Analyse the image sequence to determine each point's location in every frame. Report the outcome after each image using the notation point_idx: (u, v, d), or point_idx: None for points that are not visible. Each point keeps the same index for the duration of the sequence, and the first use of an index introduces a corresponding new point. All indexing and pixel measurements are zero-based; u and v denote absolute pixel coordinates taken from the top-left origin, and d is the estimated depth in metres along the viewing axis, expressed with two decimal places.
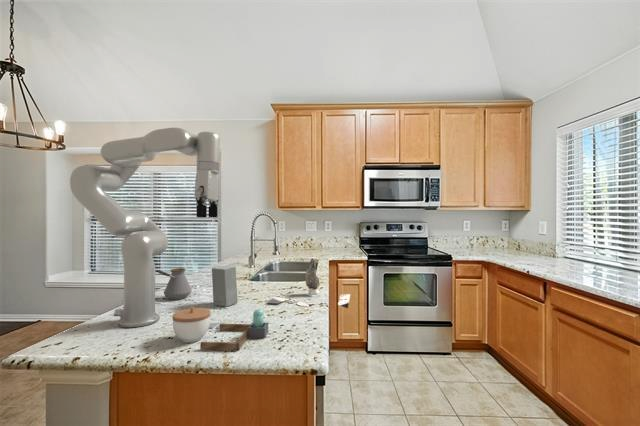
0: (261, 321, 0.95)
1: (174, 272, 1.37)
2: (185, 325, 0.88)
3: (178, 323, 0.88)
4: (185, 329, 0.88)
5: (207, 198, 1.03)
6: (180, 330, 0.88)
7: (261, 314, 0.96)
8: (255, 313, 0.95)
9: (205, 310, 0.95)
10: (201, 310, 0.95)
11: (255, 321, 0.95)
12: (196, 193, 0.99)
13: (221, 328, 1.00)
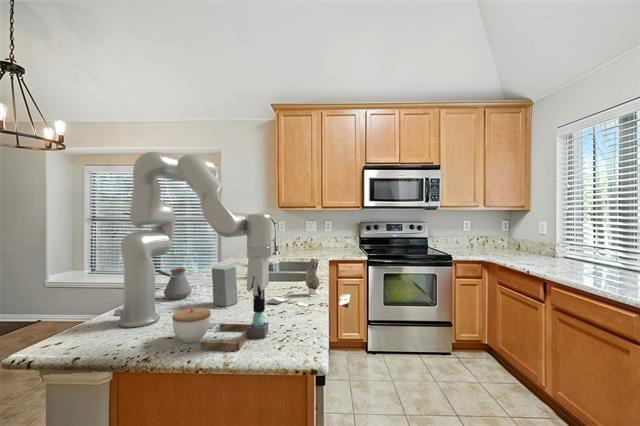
0: (261, 323, 0.95)
1: (174, 272, 1.37)
2: (185, 325, 0.88)
3: (178, 323, 0.88)
4: (185, 329, 0.88)
5: (261, 290, 0.92)
6: (180, 330, 0.88)
7: (261, 316, 0.96)
8: (255, 315, 0.95)
9: (205, 310, 0.96)
10: (201, 310, 0.95)
11: (255, 323, 0.95)
12: (254, 295, 0.92)
13: (221, 328, 1.00)
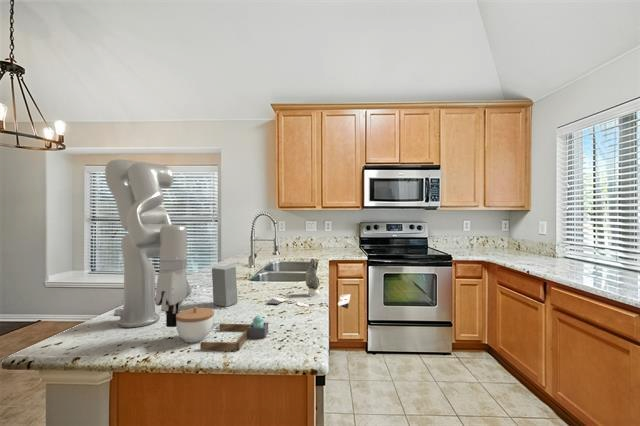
0: None
1: None
2: (188, 325, 0.88)
3: (181, 323, 0.88)
4: (188, 329, 0.88)
5: (170, 305, 0.89)
6: (183, 330, 0.88)
7: (261, 320, 0.96)
8: (255, 319, 0.95)
9: (208, 310, 0.95)
10: (204, 310, 0.95)
11: None
12: (163, 310, 0.89)
13: (221, 328, 1.00)
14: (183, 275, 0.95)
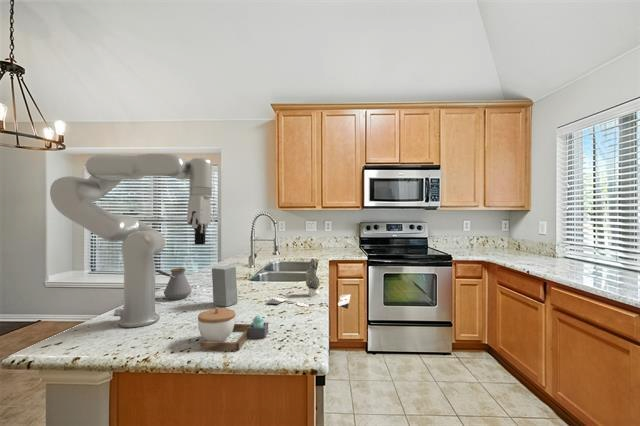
0: None
1: (174, 272, 1.37)
2: (210, 326, 0.88)
3: (203, 323, 0.88)
4: (210, 330, 0.88)
5: (199, 223, 1.06)
6: (205, 331, 0.88)
7: (261, 320, 0.96)
8: (255, 319, 0.95)
9: (230, 311, 0.95)
10: (226, 311, 0.95)
11: None
12: (193, 227, 1.06)
13: None
14: (208, 202, 1.12)
